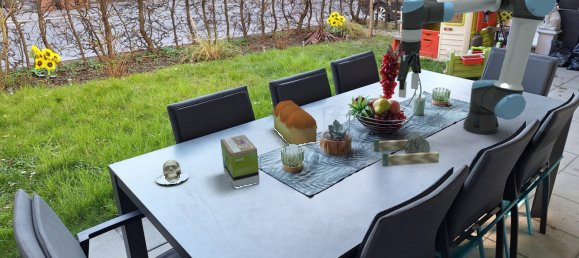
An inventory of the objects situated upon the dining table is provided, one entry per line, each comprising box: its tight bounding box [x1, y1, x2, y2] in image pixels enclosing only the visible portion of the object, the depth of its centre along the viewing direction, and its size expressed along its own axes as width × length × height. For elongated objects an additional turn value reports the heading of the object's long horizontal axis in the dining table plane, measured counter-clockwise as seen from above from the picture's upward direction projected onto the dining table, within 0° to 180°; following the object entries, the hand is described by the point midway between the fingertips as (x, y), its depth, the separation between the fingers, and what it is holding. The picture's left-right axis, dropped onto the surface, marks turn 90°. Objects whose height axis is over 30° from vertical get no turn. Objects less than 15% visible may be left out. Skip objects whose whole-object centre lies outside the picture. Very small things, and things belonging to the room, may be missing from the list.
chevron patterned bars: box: [372, 138, 440, 167], centre depth 172 cm, size 22×16×5 cm
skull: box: [162, 159, 182, 183], centre depth 161 cm, size 12×10×10 cm
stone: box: [404, 133, 431, 154], centre depth 172 cm, size 10×10×10 cm
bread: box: [272, 99, 318, 145], centre depth 196 cm, size 25×12×15 cm, turn 20°
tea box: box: [220, 134, 261, 188], centre depth 157 cm, size 15×10×15 cm, turn 23°
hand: (408, 93), depth 171 cm, fingers open, 13 cm apart
